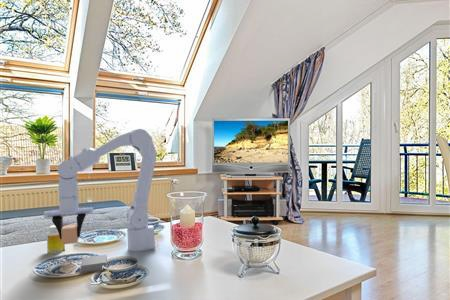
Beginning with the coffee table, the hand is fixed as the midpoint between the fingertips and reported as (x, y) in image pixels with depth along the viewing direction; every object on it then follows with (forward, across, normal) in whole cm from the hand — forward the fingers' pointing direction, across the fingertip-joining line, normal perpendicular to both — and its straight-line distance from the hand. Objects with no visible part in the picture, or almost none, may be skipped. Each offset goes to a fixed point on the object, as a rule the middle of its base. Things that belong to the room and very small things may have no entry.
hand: (70, 237), depth 106 cm
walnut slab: (+9, +8, -11) cm, 16 cm away
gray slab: (+7, +8, -11) cm, 15 cm away
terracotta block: (+2, 0, 0) cm, 2 cm away
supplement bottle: (+9, -6, +11) cm, 15 cm away
